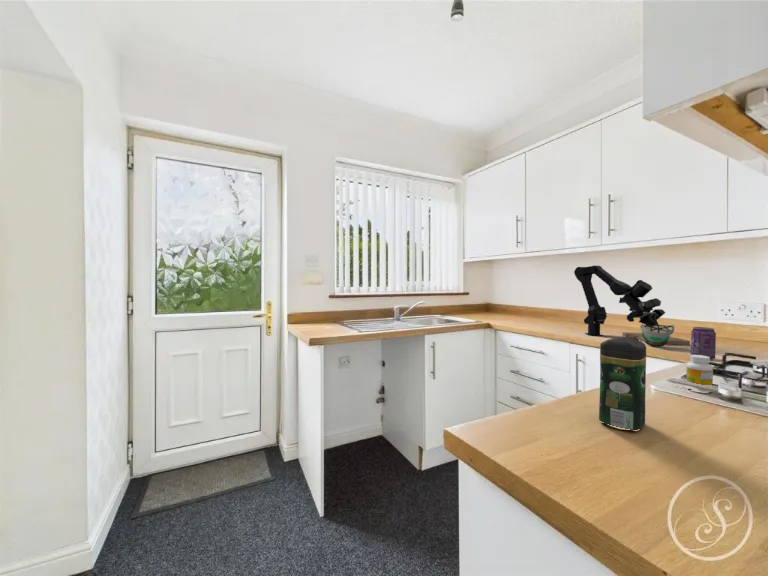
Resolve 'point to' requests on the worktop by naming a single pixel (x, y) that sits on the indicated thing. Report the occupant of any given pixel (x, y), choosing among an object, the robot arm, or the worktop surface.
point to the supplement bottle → (700, 370)
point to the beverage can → (703, 342)
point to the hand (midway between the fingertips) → (659, 329)
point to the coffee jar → (622, 382)
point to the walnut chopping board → (670, 341)
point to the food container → (656, 334)
